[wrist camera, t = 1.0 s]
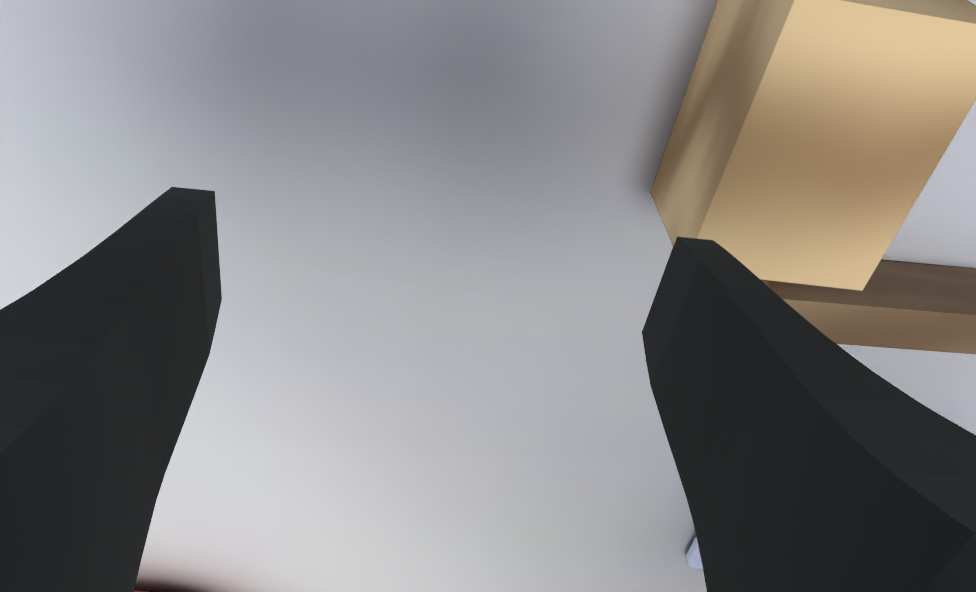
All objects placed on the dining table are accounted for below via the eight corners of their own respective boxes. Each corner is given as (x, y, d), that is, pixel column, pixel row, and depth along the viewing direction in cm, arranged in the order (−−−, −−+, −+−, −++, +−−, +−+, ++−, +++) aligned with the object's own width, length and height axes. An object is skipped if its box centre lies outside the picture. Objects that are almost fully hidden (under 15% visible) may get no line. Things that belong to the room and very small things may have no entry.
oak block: (805, 209, 24) (862, 290, 21) (649, 189, 23) (683, 270, 20) (923, -27, 20) (1016, 30, 17) (736, -62, 19) (797, -8, 16)
